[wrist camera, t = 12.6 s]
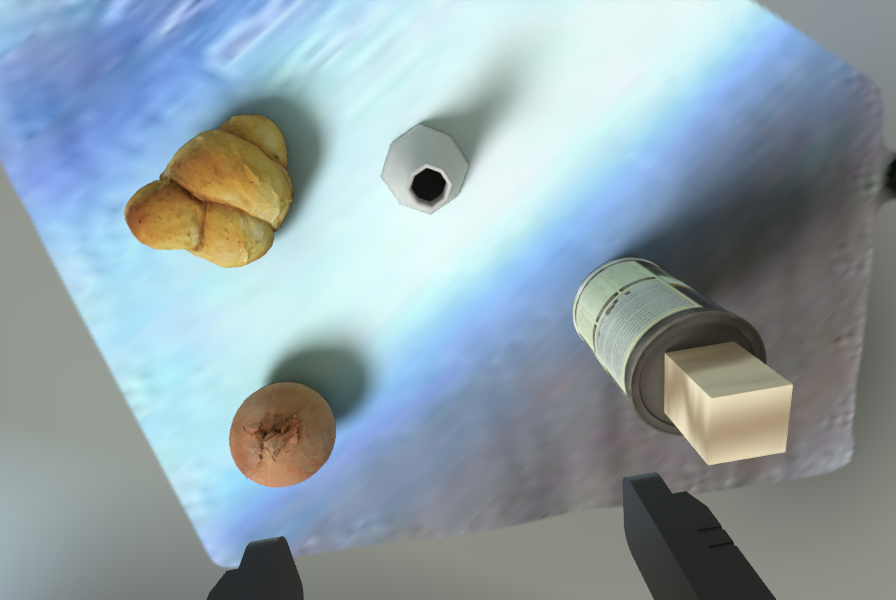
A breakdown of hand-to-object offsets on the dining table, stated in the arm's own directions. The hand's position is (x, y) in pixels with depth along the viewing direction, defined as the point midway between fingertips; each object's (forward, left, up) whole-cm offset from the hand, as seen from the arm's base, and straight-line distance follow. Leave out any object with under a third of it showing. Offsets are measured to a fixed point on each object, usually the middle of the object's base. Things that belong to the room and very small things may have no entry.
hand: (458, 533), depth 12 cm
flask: (-4, +1, -36) cm, 37 cm away
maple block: (+12, +18, -22) cm, 31 cm away
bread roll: (-5, -15, -36) cm, 40 cm away
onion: (+17, -16, -36) cm, 43 cm away
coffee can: (+12, +18, -36) cm, 42 cm away
